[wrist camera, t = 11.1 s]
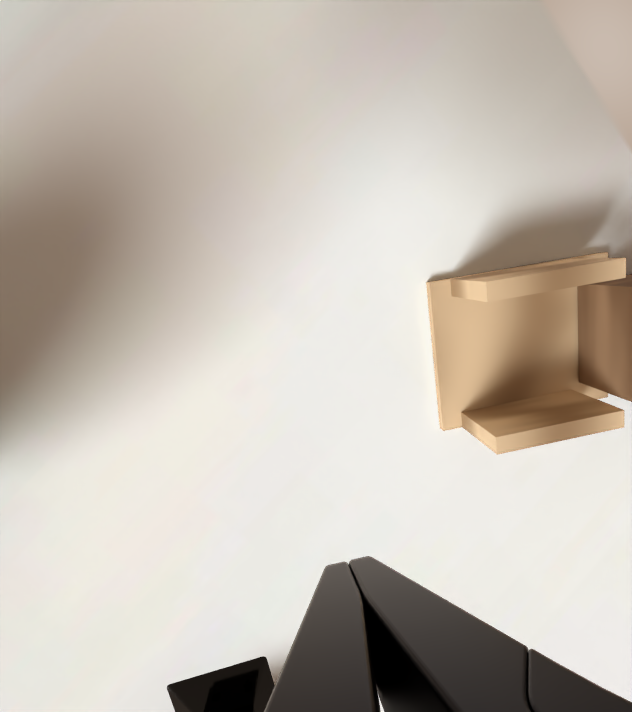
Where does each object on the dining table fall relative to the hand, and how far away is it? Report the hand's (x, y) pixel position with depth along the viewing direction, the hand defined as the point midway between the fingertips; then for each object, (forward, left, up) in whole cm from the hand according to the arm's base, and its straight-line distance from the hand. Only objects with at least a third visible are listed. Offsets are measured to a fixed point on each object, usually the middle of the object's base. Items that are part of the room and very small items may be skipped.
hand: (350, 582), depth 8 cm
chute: (+11, +4, -13) cm, 17 cm away
